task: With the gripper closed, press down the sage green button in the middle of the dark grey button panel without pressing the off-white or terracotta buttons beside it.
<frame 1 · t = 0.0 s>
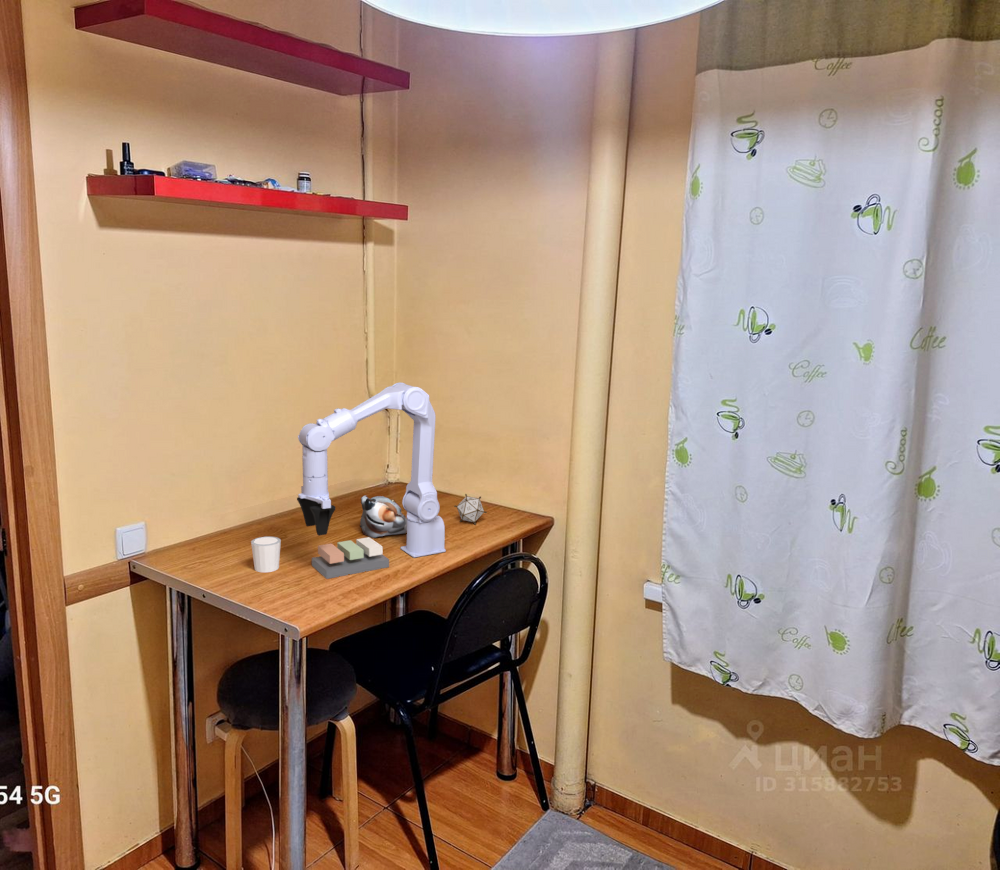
hand: (316, 530, 189), 10 cm above the table, tool pointing down, fingers open, 7 cm apart
terracotta button: (330, 553, 191), point 4 cm above the table, slide at 0.0 cm
game die: (470, 522, 231), on the table
off-white button: (369, 546, 196), point 4 cm above the table, slide at 0.0 cm
sage button: (350, 550, 193), point 4 cm above the table, slide at 0.0 cm
button panel: (350, 566, 194), on the table
shot glass: (266, 569, 192), on the table
lucky cat figurine: (386, 534, 219), on the table
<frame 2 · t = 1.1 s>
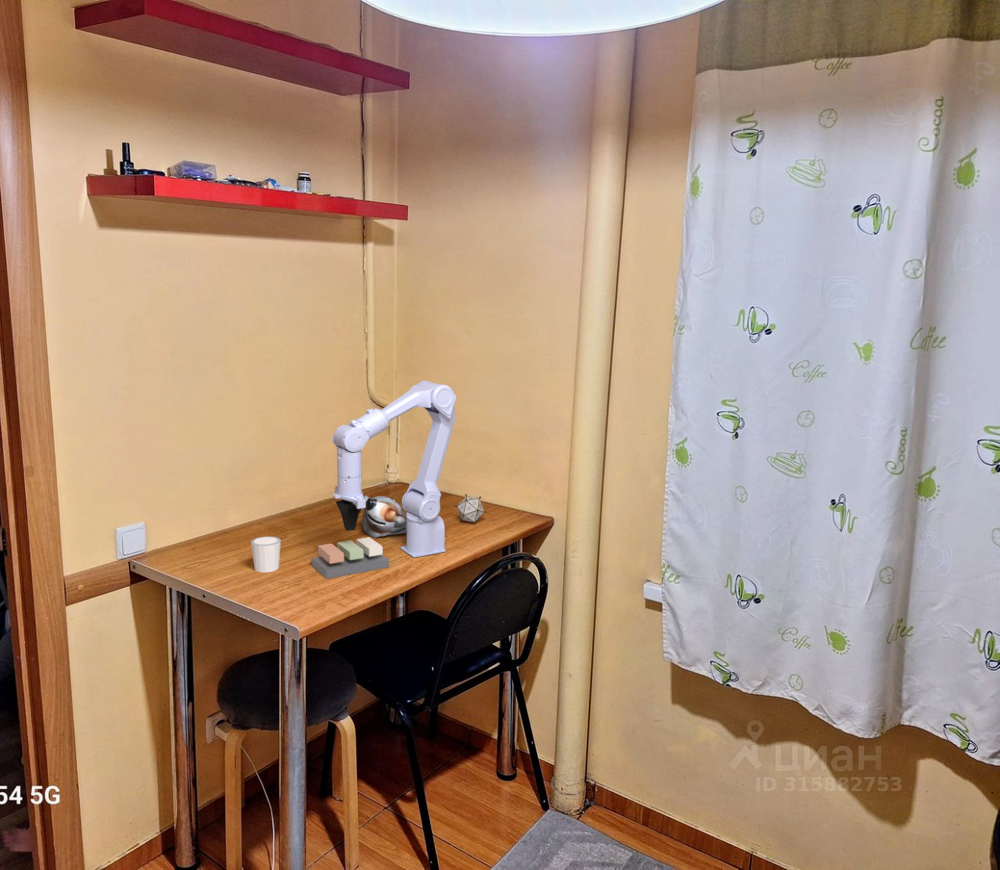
hand: (350, 529, 192), 9 cm above the table, tool pointing down, fingers closed
nothing on the table moved.
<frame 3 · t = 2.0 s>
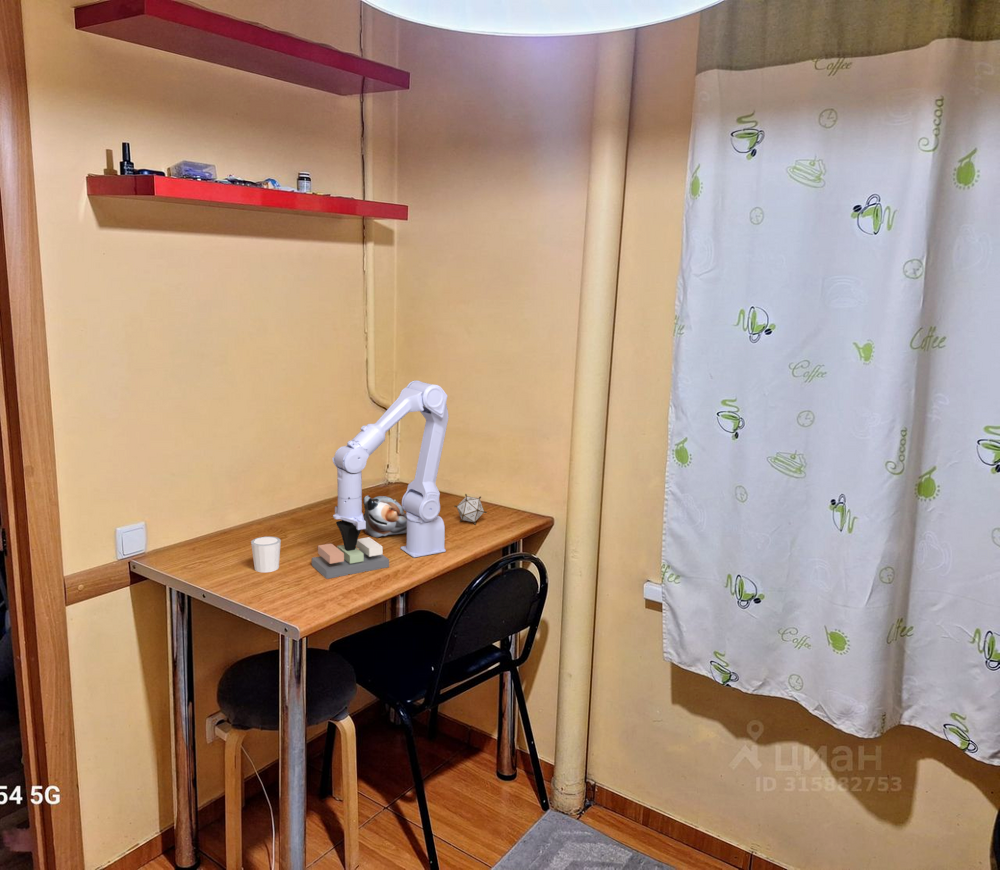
hand: (350, 549, 193), 4 cm above the table, tool pointing down, fingers closed, pressing on sage button
sage button: (350, 553, 194), point 3 cm above the table, slide at 0.9 cm, touching gripper
everything else where it was.
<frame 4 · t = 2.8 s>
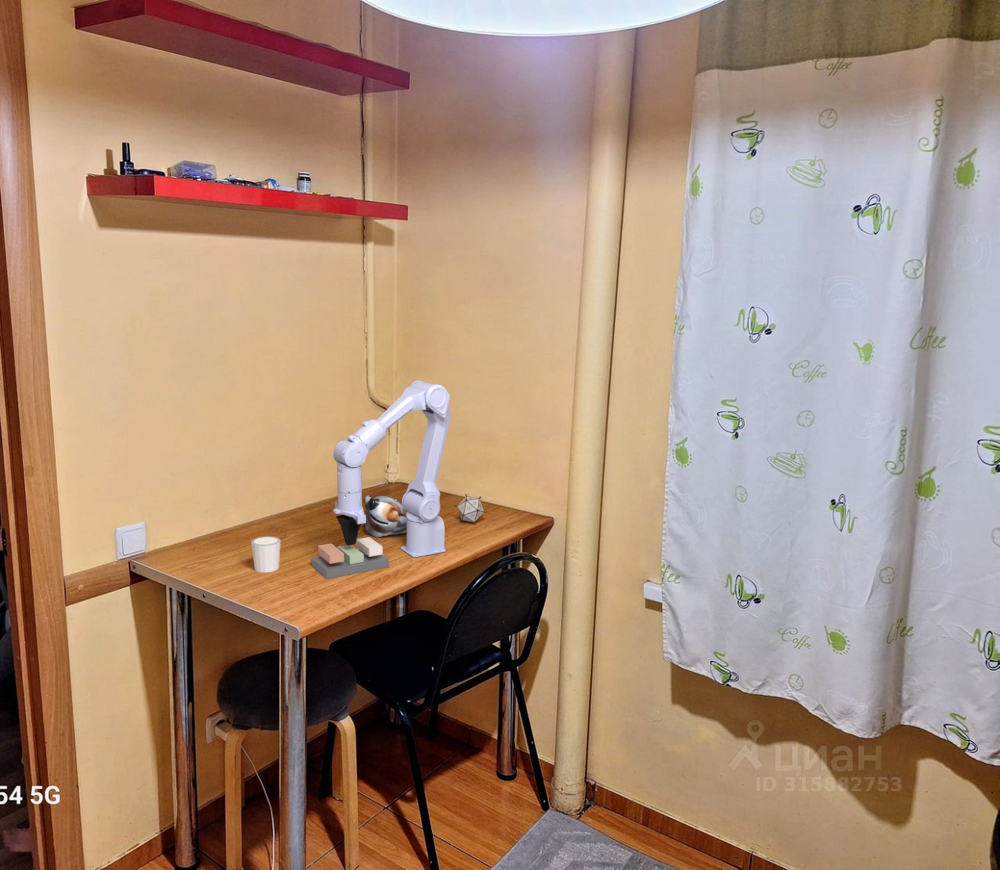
hand: (350, 544, 193), 6 cm above the table, tool pointing down, fingers closed
sage button: (350, 554, 194), point 3 cm above the table, slide at 1.1 cm
everything else where it was.
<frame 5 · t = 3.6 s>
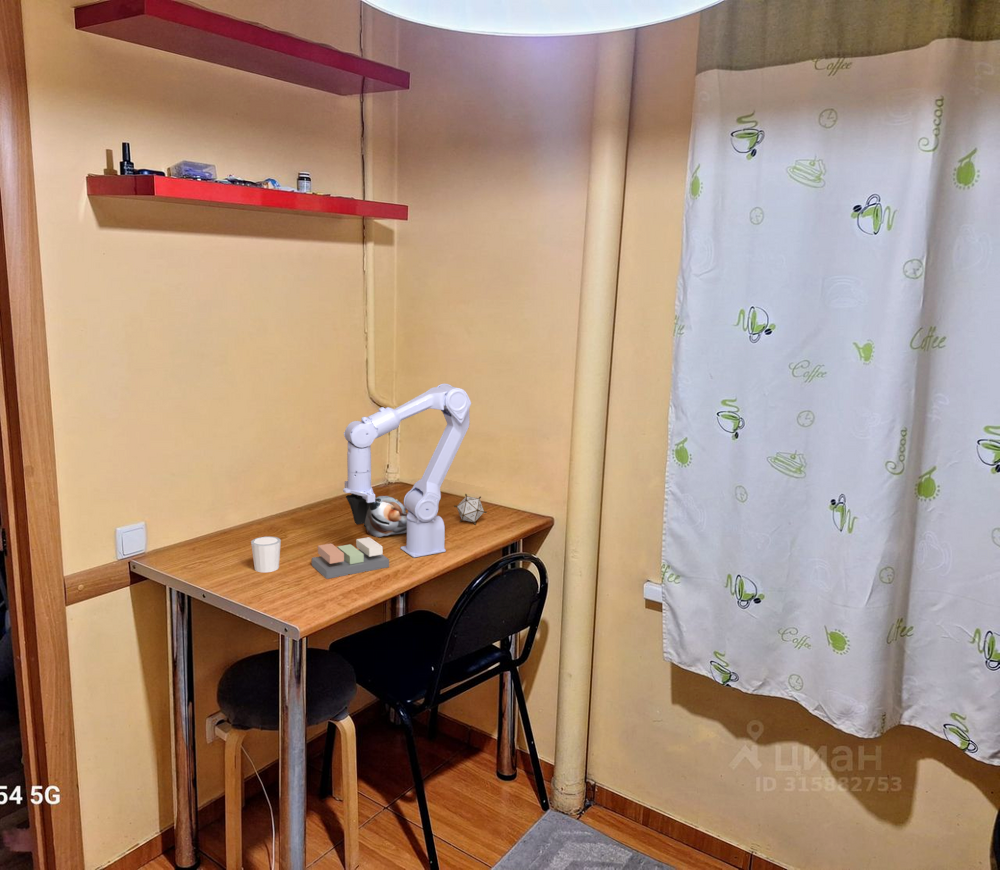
hand: (359, 523, 197), 9 cm above the table, tool pointing down, fingers closed
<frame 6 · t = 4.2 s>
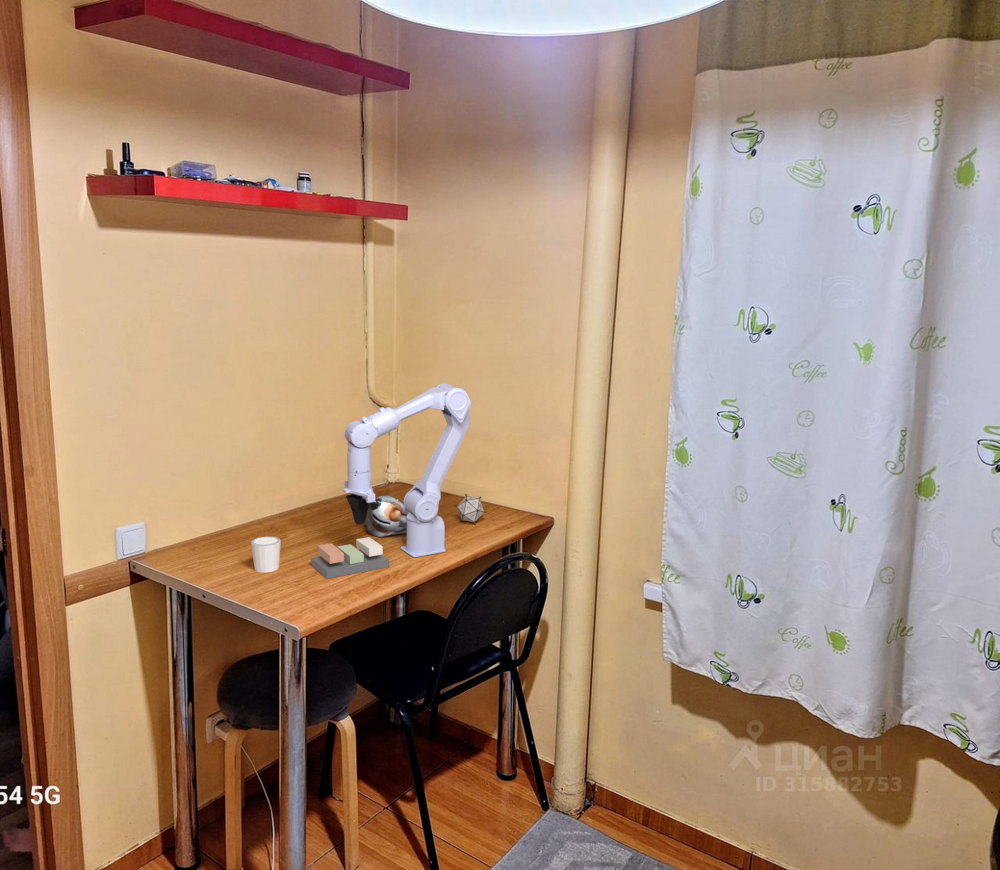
hand: (359, 523, 197), 9 cm above the table, tool pointing down, fingers closed
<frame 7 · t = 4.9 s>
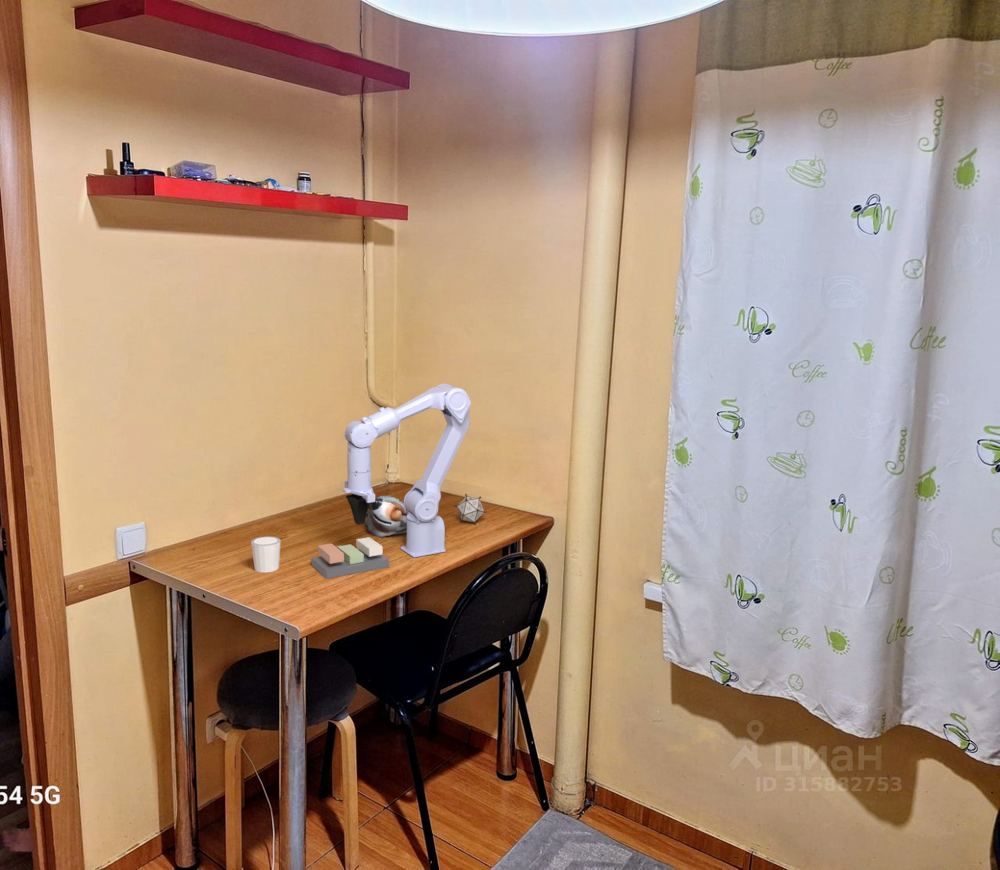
hand: (359, 523, 197), 9 cm above the table, tool pointing down, fingers closed
at the end: sage button slide at 1.1 cm; off-white button slide at 0.0 cm; terracotta button slide at 0.0 cm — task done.
